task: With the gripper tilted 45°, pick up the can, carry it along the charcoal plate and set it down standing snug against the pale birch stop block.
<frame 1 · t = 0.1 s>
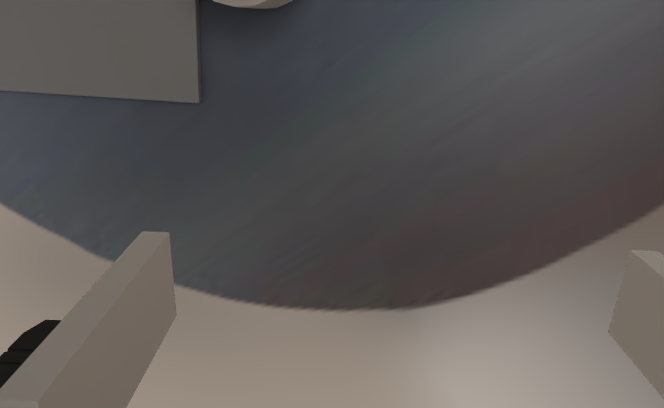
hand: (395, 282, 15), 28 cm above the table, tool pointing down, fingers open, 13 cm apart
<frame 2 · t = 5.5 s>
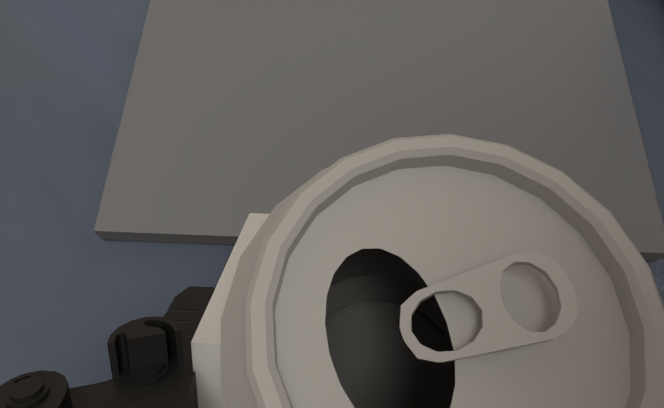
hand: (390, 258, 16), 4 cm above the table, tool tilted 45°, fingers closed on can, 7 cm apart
stop plate: (378, 36, 25), on the table
can: (378, 382, 18), on the table, touching gripper
when the fingers open (6 cm above the table, at t = 11.2 s): can drops 1 cm, resting on stop plate.
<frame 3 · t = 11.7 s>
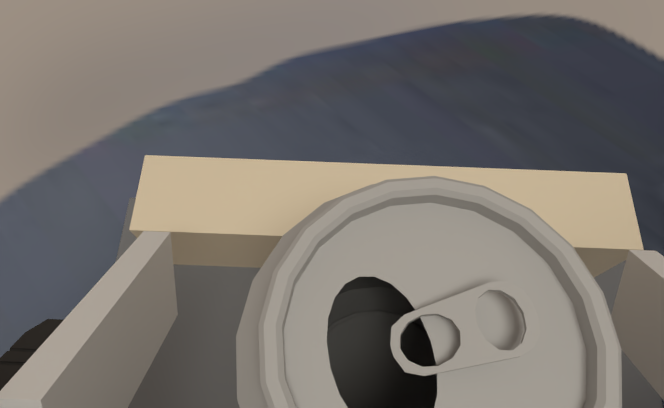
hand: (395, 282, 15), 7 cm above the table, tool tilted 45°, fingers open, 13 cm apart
can: (375, 388, 20), point 1 cm above the table, touching stop plate
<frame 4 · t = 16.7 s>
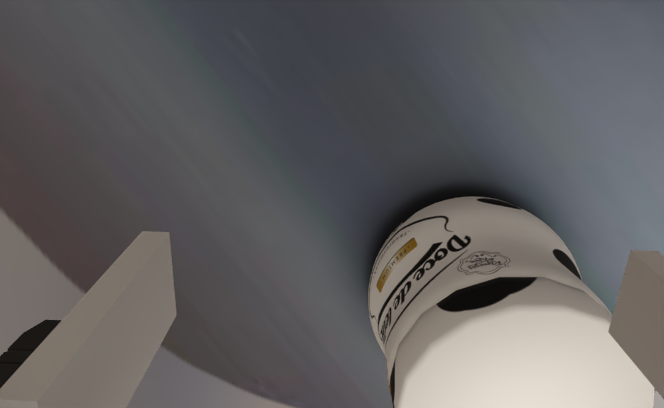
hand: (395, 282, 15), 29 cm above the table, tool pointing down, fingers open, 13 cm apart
milk container: (458, 271, 47), on the table
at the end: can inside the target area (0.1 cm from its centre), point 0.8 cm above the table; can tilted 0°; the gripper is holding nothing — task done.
